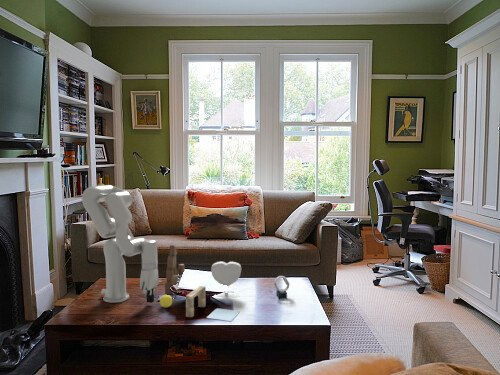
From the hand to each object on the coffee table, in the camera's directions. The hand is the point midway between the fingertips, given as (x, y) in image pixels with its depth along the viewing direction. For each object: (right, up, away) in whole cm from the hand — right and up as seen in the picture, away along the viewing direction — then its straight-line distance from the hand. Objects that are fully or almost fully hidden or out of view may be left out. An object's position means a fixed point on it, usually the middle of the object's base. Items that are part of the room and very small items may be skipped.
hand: (150, 301), depth 197 cm
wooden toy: (+8, 0, +23) cm, 24 cm away
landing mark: (+37, -3, -12) cm, 39 cm away
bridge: (+24, -2, -8) cm, 25 cm away
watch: (+66, -1, +12) cm, 67 cm away
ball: (+8, +1, -3) cm, 9 cm away
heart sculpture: (+37, -1, +13) cm, 39 cm away
